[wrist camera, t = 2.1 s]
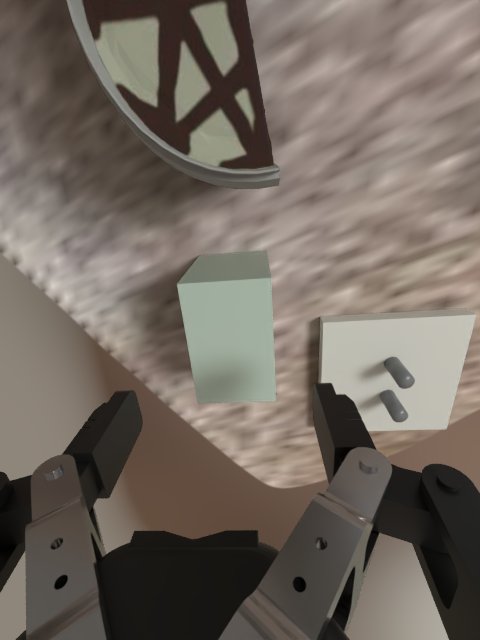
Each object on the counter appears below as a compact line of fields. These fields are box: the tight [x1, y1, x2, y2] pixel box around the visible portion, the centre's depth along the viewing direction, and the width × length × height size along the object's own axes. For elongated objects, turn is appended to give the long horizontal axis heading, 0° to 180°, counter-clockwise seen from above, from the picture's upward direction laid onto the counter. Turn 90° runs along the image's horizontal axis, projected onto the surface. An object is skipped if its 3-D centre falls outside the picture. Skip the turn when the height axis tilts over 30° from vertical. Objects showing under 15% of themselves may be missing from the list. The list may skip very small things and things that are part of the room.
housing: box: [177, 251, 276, 404], centre depth 21 cm, size 8×5×7 cm, turn 5°
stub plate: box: [318, 308, 476, 431], centre depth 24 cm, size 11×11×4 cm
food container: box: [66, 0, 280, 189], centre depth 14 cm, size 12×6×10 cm, turn 13°
